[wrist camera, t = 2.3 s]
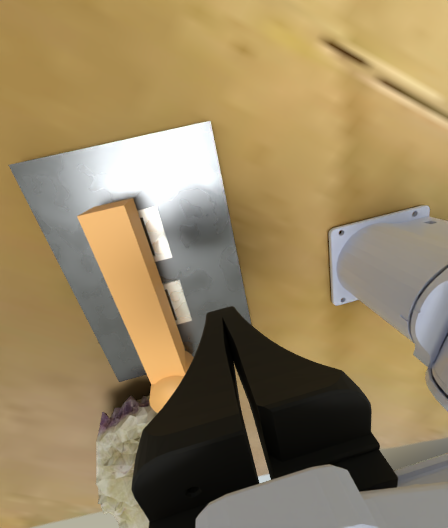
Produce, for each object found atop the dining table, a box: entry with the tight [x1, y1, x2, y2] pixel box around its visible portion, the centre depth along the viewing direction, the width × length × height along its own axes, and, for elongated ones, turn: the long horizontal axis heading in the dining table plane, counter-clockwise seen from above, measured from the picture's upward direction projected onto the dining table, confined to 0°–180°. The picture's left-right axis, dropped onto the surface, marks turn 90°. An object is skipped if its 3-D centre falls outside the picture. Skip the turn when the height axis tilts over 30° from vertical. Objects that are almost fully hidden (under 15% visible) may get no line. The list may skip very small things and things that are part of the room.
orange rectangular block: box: [77, 198, 194, 413], centre depth 19 cm, size 16×4×4 cm, turn 12°
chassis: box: [9, 121, 251, 382], centre depth 21 cm, size 13×19×2 cm
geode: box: [96, 395, 158, 528], centre depth 26 cm, size 17×9×15 cm
